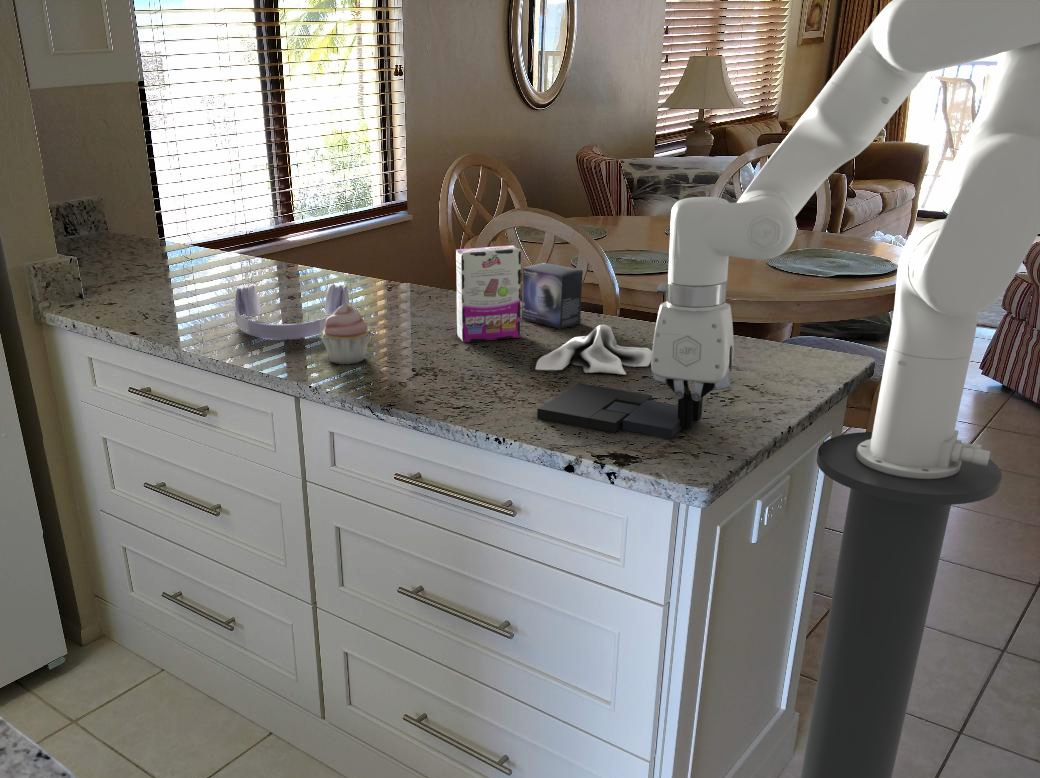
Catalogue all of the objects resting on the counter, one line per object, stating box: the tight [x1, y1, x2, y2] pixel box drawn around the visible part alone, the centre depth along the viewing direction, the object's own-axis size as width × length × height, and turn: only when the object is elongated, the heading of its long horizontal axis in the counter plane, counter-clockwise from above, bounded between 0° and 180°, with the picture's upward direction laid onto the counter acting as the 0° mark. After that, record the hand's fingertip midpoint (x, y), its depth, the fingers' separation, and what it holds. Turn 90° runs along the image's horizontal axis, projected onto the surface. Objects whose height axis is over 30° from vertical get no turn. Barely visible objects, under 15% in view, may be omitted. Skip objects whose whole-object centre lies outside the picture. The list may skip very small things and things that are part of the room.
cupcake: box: [318, 304, 374, 365], centre depth 171 cm, size 9×9×10 cm
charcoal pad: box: [606, 400, 683, 440], centre depth 142 cm, size 11×10×2 cm
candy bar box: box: [455, 245, 522, 343], centre depth 182 cm, size 11×5×16 cm, turn 101°
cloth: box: [534, 324, 652, 376], centre depth 169 cm, size 22×19×6 cm
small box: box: [520, 262, 584, 330], centre depth 192 cm, size 11×6×10 cm, turn 40°
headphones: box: [233, 283, 350, 340], centre depth 195 cm, size 22×7×20 cm
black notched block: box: [536, 382, 653, 434], centre depth 146 cm, size 12×14×2 cm
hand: (688, 424), depth 139 cm, fingers closed
